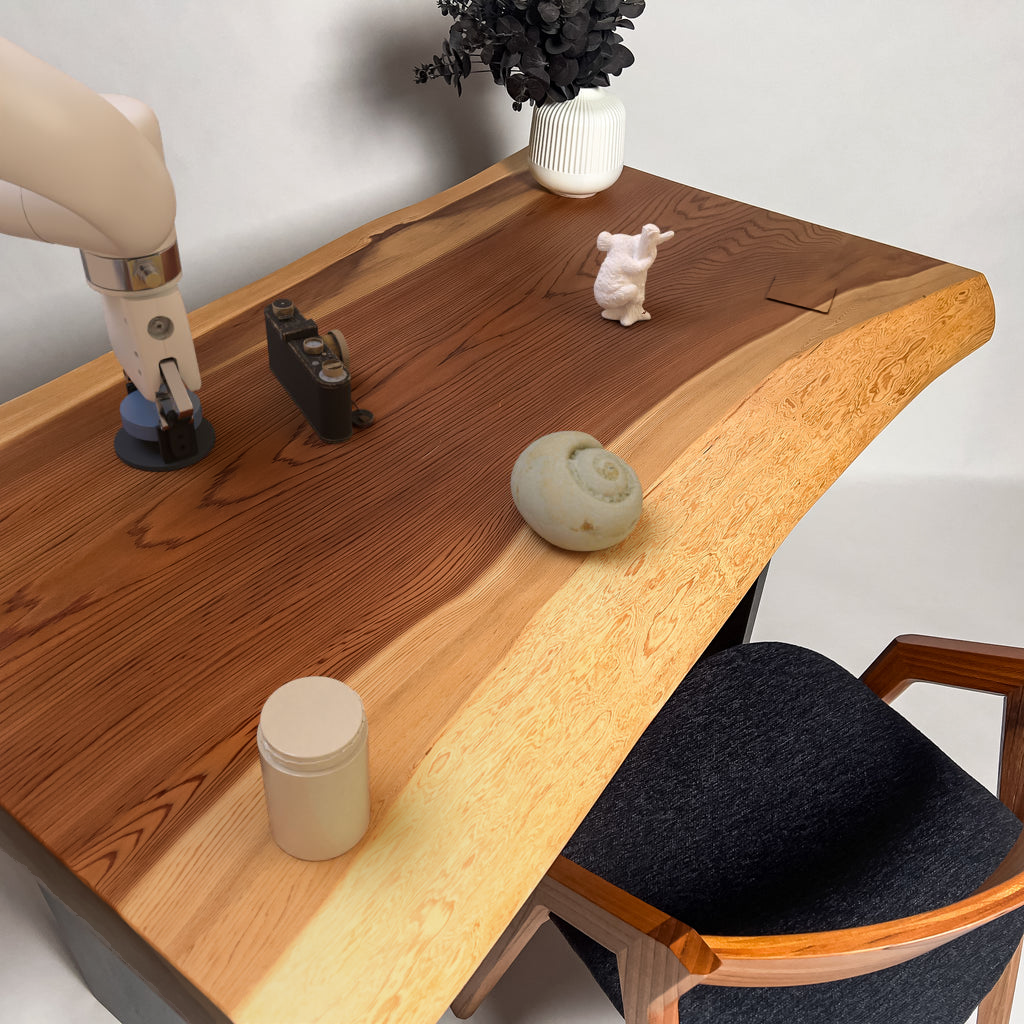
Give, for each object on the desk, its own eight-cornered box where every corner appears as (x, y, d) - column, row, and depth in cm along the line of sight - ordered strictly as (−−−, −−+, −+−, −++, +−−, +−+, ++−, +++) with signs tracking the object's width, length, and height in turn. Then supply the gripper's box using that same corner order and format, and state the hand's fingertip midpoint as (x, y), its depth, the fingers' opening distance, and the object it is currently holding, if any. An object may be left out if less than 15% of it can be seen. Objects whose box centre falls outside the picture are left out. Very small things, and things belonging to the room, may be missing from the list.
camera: (385, 431, 94) (384, 361, 89) (321, 448, 91) (317, 376, 86) (319, 350, 105) (316, 283, 99) (260, 363, 102) (253, 295, 96)
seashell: (670, 461, 82) (597, 496, 75) (654, 539, 86) (582, 579, 79) (558, 407, 89) (482, 435, 82) (548, 482, 93) (474, 514, 86)
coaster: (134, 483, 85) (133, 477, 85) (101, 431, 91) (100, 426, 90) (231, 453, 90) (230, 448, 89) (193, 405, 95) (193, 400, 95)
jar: (297, 880, 58) (285, 781, 52) (252, 802, 62) (235, 700, 56) (388, 828, 62) (388, 729, 55) (341, 757, 65) (335, 656, 59)
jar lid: (198, 395, 92) (196, 381, 91) (207, 436, 87) (205, 421, 86) (120, 403, 90) (117, 389, 89) (125, 445, 85) (122, 431, 84)
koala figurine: (662, 313, 117) (680, 219, 110) (649, 338, 112) (667, 242, 105) (595, 297, 119) (609, 203, 111) (580, 321, 114) (593, 225, 106)
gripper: (218, 295, 75) (242, 474, 87) (140, 211, 85) (170, 381, 97) (121, 317, 71) (159, 501, 83) (51, 226, 82) (94, 401, 93)
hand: (165, 435), depth 90 cm, fingers closed on jar lid, 6 cm apart
